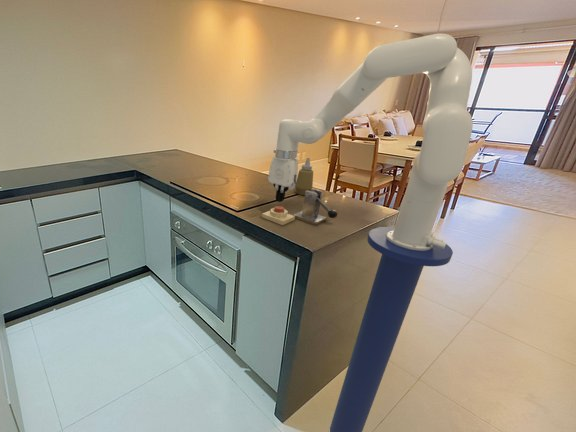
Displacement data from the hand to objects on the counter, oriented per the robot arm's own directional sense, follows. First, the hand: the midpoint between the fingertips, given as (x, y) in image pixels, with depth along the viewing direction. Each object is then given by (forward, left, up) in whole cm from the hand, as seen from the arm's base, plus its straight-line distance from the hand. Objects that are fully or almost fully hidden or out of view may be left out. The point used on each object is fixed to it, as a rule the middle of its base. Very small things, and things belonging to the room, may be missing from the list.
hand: (279, 200), depth 116 cm
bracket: (-8, -10, -8) cm, 15 cm away
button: (0, 0, -4) cm, 5 cm away
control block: (0, 0, -8) cm, 8 cm away
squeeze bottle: (+11, -36, -8) cm, 38 cm away
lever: (-12, -10, -2) cm, 16 cm away
